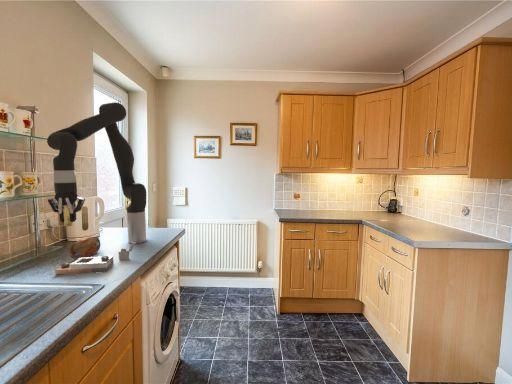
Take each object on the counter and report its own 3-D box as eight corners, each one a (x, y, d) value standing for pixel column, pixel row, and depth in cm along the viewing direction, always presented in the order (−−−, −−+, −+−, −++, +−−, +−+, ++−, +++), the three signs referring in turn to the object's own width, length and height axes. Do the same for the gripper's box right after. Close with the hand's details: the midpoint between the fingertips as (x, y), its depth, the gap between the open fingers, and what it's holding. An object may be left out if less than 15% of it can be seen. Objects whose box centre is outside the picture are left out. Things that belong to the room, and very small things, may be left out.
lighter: (118, 260, 114) (117, 243, 113) (119, 259, 116) (118, 242, 115) (135, 259, 116) (135, 242, 115) (136, 257, 118) (135, 241, 117)
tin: (74, 262, 112) (73, 244, 111) (68, 261, 112) (67, 243, 111) (101, 251, 126) (100, 234, 126) (96, 250, 127) (95, 234, 126)
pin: (66, 224, 108) (65, 204, 107) (74, 224, 108) (73, 204, 107) (62, 226, 105) (60, 205, 104) (70, 226, 105) (68, 205, 104)
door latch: (66, 267, 106) (66, 255, 106) (113, 264, 109) (113, 253, 109) (55, 275, 99) (54, 262, 98) (106, 272, 102) (105, 260, 101)
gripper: (88, 180, 109) (90, 219, 111) (52, 180, 107) (56, 220, 109) (78, 181, 102) (81, 223, 104) (40, 182, 100) (44, 224, 102)
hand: (68, 221), depth 107 cm, fingers closed on pin, 3 cm apart
